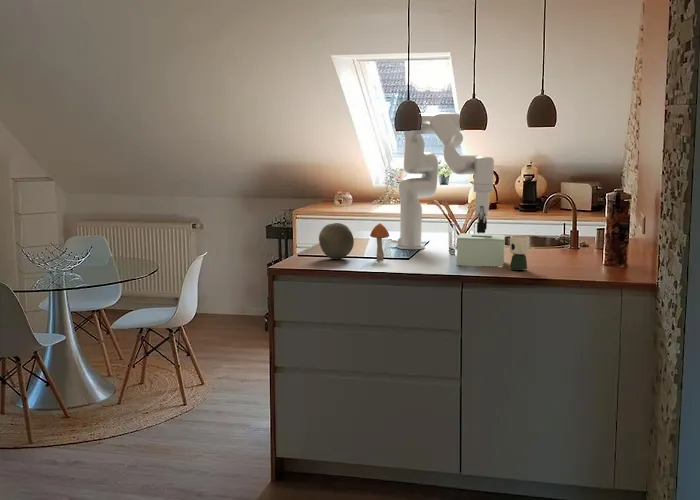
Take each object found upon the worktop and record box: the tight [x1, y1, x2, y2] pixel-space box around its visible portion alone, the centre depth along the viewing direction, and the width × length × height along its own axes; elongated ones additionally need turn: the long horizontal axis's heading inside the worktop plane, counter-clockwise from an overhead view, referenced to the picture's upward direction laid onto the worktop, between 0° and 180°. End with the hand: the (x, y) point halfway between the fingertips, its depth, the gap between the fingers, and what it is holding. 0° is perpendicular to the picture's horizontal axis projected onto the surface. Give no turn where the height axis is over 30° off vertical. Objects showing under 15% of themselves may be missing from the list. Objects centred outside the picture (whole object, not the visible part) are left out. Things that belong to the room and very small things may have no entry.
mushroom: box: [369, 223, 390, 261], centre depth 328 cm, size 8×8×15 cm
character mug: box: [509, 235, 530, 271], centre depth 307 cm, size 11×7×13 cm, turn 178°
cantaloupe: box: [318, 222, 355, 260], centre depth 327 cm, size 14×14×15 cm
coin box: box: [456, 232, 506, 268], centre depth 321 cm, size 18×13×11 cm
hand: (481, 231), depth 320 cm, fingers open, 9 cm apart
